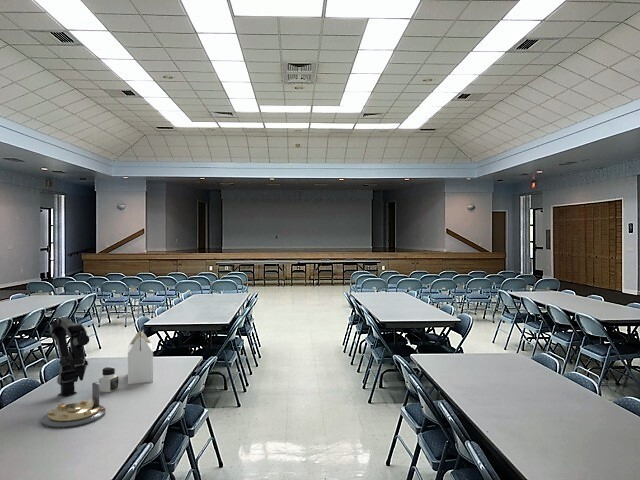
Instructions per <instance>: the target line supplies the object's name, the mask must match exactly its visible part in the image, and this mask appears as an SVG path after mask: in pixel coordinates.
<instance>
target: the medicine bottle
mask: <svg viewBox="0 0 640 480" xmlns="http://www.w3.org/2000/svg"><path fill="white" fill-rule="evenodd" d="M98 382H99V393H100V392H103V393H112V392H114V391H116V390H118V389H119V375H117V374H116V368H115V367H113V366H106V367H104V368H103V369H102V376H101V377H99V378H98Z"/></svg>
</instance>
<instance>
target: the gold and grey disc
mask: <svg viewBox="0 0 640 480" xmlns="http://www.w3.org/2000/svg"><path fill="white" fill-rule="evenodd" d="M99 407H100V410H99V412H98V413H97V414H96V415H94V416H92V417H90V418H87V419H83V420H79V421H73V422H54V421H50V420H49V419H48V412H46V413H45V414H44V415H43V416H42V417H41V424H42V426H44V427H46V428H51V429H68V428H76V427H80V426H84V425H89V424H91V423H95V422H97V421H100V420H101V419H102V418H103V417H105V415H106V407H105V406H104V405H101V404H99Z"/></svg>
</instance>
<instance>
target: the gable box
mask: <svg viewBox="0 0 640 480" xmlns="http://www.w3.org/2000/svg"><path fill="white" fill-rule="evenodd" d="M144 332H145V330H144V328H143V329H142V328H141V327H139V331H138V332H137V333H136V334H135V336H134V337H133V339H132V340H131V341H130V343H129V344H128V348H127V385H134V384H145V383H153V382H154V350H153V343H152V342H151V341H150V339H149V337H147V334H145V333H144Z"/></svg>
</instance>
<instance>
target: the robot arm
mask: <svg viewBox="0 0 640 480" xmlns="http://www.w3.org/2000/svg"><path fill="white" fill-rule="evenodd" d="M49 333H50V334H51V335H50V336H51V338H52V339H53V340H55V341H56V345H57V346H56V347H57V351H58V355H59V361H58V363H59V364H60V366H61V367H60V370H59V371H58V372H59V373H58V376H57V378H56V384H58V385H59V386H60V392H59V393H57V395H58V396H61V397H69V396H72V395H75V394H77V393H78V391H75V390H76V388H75V387H76V385H75V383H76V382H78V381H83V380H84V377H85V375H86V374H85V373H86V370H87V367H88V366H89V361H88V360H87V359H86V355H85V352H86V351H85V349H84V346H86V345H88V344H89V342H90V337H89V335H88V334H87V333H88V332H87V330H86V328H85V327H84V325H83V324H82V323H81V322H80V323H79V322H73V321H72V320H71V319H69V317H68V316H64V317H58V318H57V319H56V320H55V321H54V322H52V323H51V324H50V327H49ZM67 336H68V337H69V338H70V339H69V345H70V346H69V345H68V341H67ZM69 348H70V350H69Z"/></svg>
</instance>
